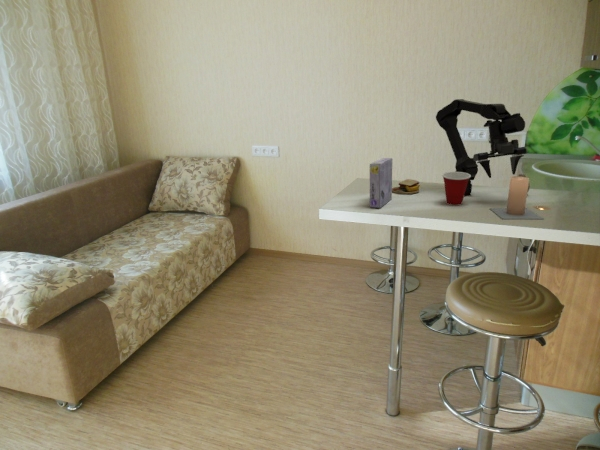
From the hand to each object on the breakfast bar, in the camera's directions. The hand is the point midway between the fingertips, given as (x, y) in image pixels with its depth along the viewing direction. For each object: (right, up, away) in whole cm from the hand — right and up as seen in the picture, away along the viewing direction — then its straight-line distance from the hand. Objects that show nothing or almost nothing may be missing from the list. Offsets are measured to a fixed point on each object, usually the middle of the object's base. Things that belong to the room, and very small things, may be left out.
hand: (502, 176), depth 173 cm
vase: (+15, -6, +17) cm, 23 cm away
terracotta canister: (-1, -15, -12) cm, 19 cm away
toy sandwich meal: (-31, -4, +28) cm, 42 cm away
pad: (0, -15, -12) cm, 19 cm away
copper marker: (+13, -13, -4) cm, 19 cm away
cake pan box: (-46, -10, +9) cm, 48 cm away
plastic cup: (-17, -11, +5) cm, 21 cm away
